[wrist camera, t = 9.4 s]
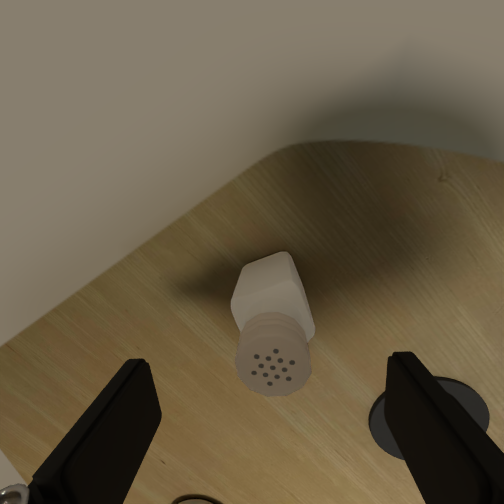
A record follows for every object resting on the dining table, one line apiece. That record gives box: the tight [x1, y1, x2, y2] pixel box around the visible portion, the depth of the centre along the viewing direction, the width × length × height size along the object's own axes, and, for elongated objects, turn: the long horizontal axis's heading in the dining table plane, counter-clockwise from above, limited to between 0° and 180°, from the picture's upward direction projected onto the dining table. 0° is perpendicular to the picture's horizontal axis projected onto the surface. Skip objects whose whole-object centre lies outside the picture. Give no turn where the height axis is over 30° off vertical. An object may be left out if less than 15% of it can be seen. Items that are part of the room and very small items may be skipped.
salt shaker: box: [231, 252, 315, 396], centre depth 14 cm, size 4×4×10 cm
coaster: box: [369, 377, 489, 460], centre depth 21 cm, size 10×10×1 cm
